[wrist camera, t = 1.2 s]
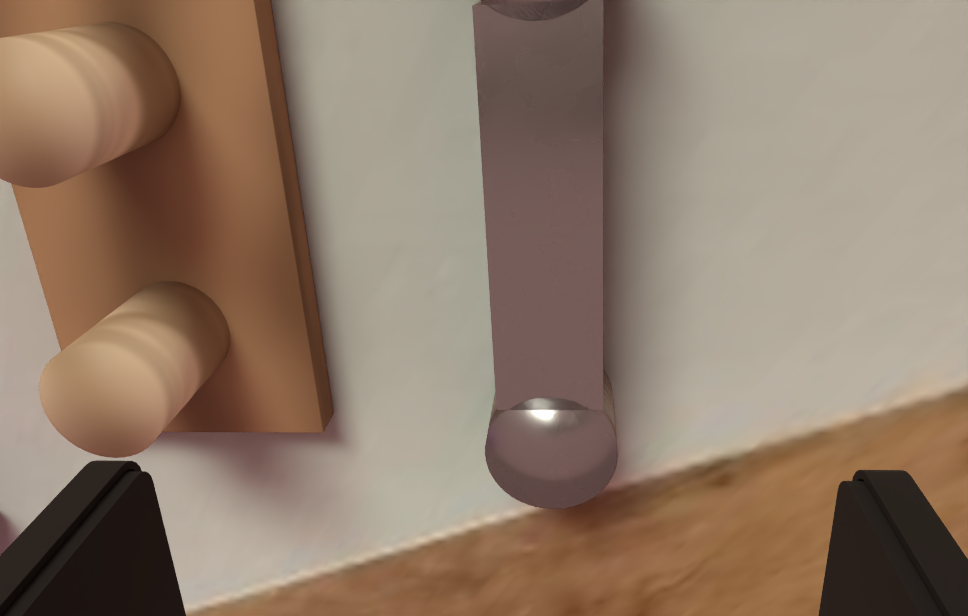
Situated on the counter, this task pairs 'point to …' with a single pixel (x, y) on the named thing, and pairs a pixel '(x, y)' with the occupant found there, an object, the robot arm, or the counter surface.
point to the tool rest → (161, 218)
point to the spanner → (545, 247)
